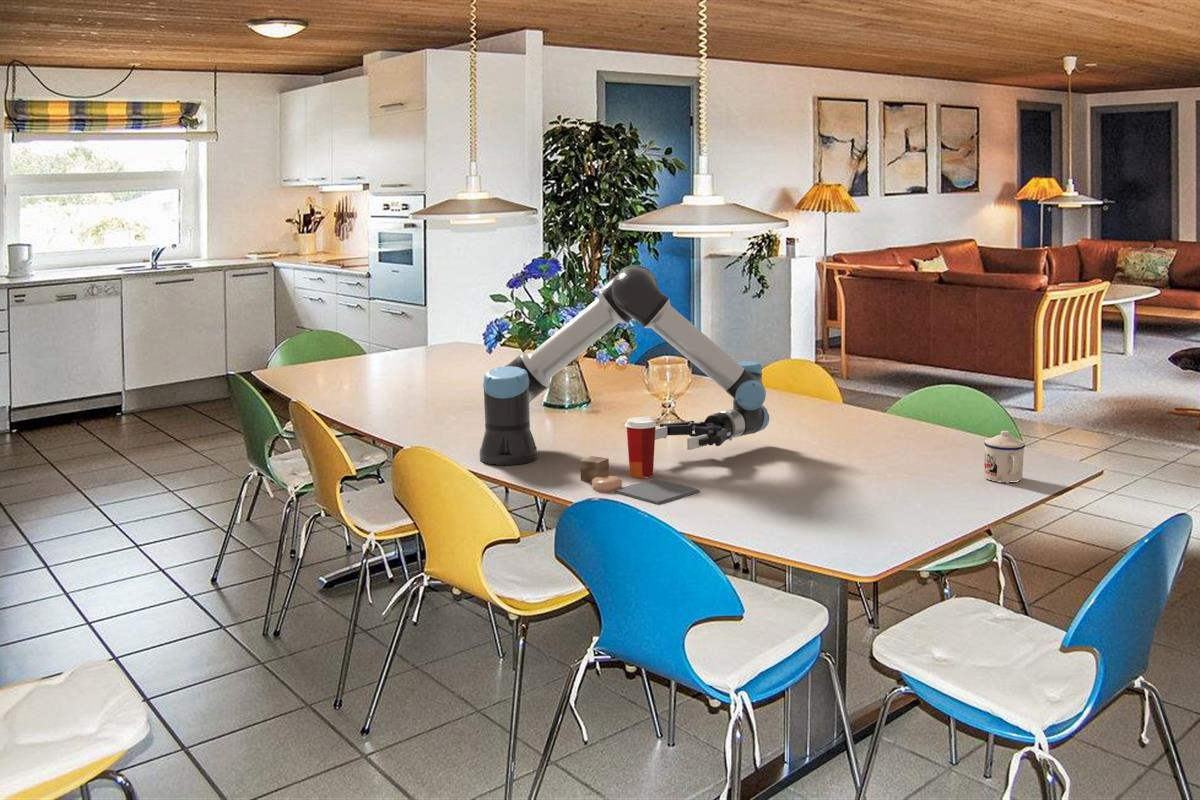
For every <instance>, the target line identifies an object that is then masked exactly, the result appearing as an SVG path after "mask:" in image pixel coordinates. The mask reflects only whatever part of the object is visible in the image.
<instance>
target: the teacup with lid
mask: <svg viewBox="0 0 1200 800" xmlns="http://www.w3.org/2000/svg"><path fill="white" fill-rule="evenodd" d="M1010 434H1011V433H1010V431H1008V430H1002V431H1000V434H998V435H995V436H994V437H989V438H986V439H985V441H984V443H983V444H984V445H985V446H984V448H985V449H984V464H983V477H985V478H987V479H990V480H994V481H1001V482H1010V481H1017V480H1021V479H1022V480H1023V469H1024V467H1023V466H1024V456H1025V455H1024V454H1025V453H1024V450H1025V447H1026V443H1025V442H1024V441H1023V440H1022V439H1019V438H1017V437H1015V436H1014V435H1010ZM985 478H984V479H985ZM987 479H986V480H987ZM1022 480H1021V481H1022Z"/></svg>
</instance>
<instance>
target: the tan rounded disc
mask: <svg viewBox="0 0 1200 800" xmlns="http://www.w3.org/2000/svg"><path fill="white" fill-rule="evenodd" d="M622 480H623V479H622V478H621V477H618V476H614V475H609V476H600V477H596V478H594V479H593V480H592V482H591V485H592V487H591V488H592V490H593V491H595V492H600V493H613V492H614V490H615V489H619V488H623V486H622V485H623V481H622ZM614 493H615V492H614Z"/></svg>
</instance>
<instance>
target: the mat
mask: <svg viewBox="0 0 1200 800" xmlns="http://www.w3.org/2000/svg"><path fill="white" fill-rule="evenodd" d="M699 492H700V488H696V487H692V486H689V485H683V484H681V483H676V482H673V481H668V480H665V479H660V478H657V477H655V478H652V479H647V480H645V481H641V482H637V483H634V484H630V485H626V486H622V488H619V489H615V490H614V493H615V494H620V495H623V496H625V497H630V498H634V499H637V500H642V501H644V502H648V503H651V502H652V504H655V505H659V503H660V504H663V502H664V503H667V502H670V501H673V500H672V499H674V500H676V498H677V499H679V498H683V496H684V497H686V496H690V495H693V494H697V493H699ZM669 500H670V501H669ZM666 501H667V502H666Z"/></svg>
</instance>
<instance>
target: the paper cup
mask: <svg viewBox="0 0 1200 800" xmlns="http://www.w3.org/2000/svg"><path fill="white" fill-rule="evenodd" d="M624 427H626V435H627V437H626V438H627V451H628V466H629V467H628V468H629V475H630V477H631V478H634V477H635V478H634V479H647V478H646V477H649V478H651V477H650V476H652V475H653V476H654V464H655V463H654V462H655V447H656V446H655V442H656V441H655V428H656V427H657V423H656V421H655V419H654V418H652V417H648V416H636V417H634V416H633V417H630V418H628V419H627V420H626V422H625V423H624ZM653 476H652V477H653Z"/></svg>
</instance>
